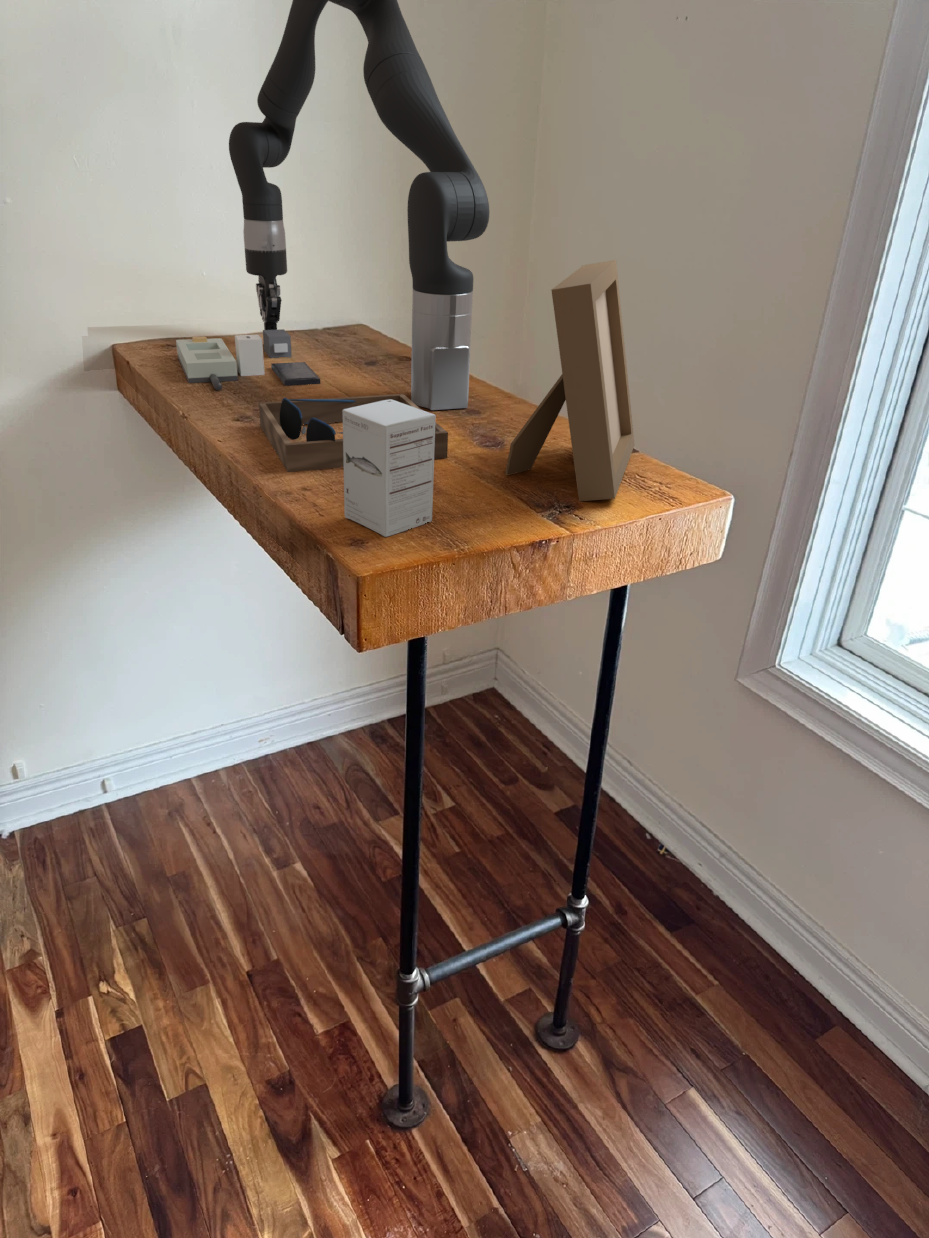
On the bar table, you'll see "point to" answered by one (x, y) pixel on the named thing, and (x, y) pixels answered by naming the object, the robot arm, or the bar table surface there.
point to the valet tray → (325, 451)
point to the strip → (206, 361)
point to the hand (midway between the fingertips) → (271, 342)
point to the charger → (249, 355)
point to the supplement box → (388, 466)
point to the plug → (277, 343)
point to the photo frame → (586, 385)
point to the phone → (295, 373)
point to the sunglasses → (315, 428)
